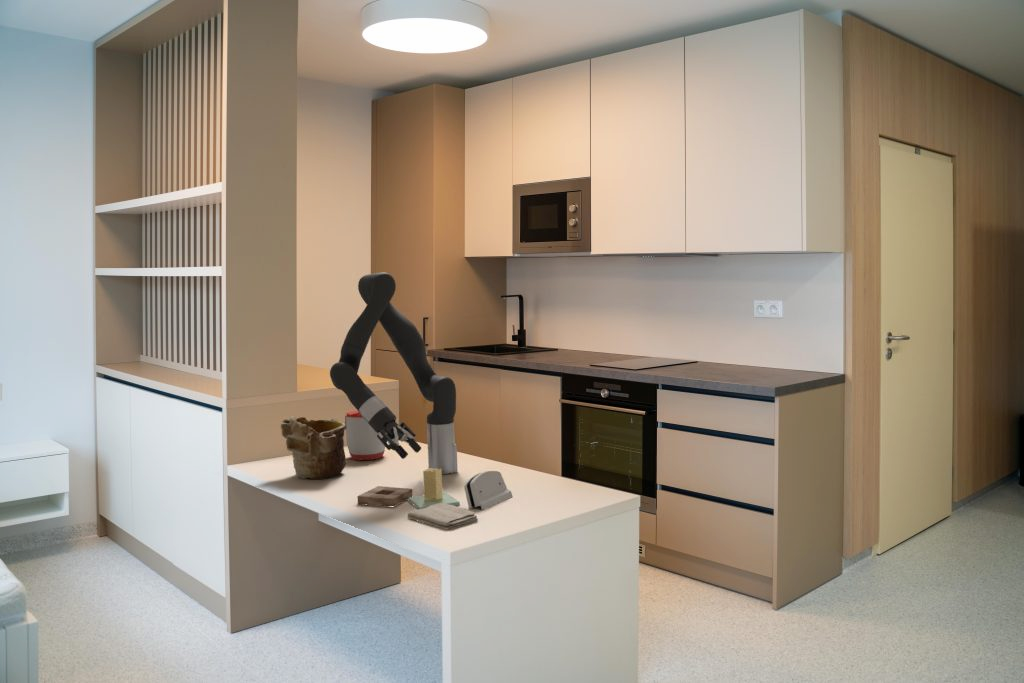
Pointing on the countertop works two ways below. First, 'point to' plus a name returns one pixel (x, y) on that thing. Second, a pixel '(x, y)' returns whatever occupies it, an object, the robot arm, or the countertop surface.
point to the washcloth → (444, 516)
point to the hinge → (486, 490)
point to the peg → (432, 484)
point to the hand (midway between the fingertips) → (412, 453)
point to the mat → (421, 503)
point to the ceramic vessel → (315, 446)
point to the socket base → (385, 496)
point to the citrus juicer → (362, 438)
